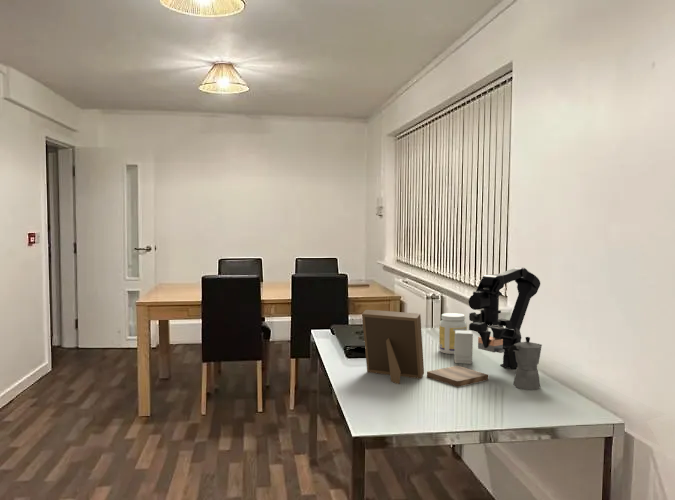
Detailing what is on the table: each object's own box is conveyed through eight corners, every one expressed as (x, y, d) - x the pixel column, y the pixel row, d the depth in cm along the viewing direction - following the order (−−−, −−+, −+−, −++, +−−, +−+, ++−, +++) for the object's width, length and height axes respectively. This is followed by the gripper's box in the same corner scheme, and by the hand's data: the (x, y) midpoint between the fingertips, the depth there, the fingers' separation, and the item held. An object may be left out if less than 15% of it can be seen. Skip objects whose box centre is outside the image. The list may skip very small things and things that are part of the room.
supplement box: (472, 364, 241) (473, 333, 240) (454, 363, 242) (454, 333, 242) (472, 359, 248) (472, 330, 248) (454, 358, 250) (454, 329, 249)
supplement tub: (470, 350, 265) (471, 314, 264) (460, 356, 254) (461, 318, 253) (445, 347, 271) (445, 311, 270) (434, 352, 261) (435, 315, 260)
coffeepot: (530, 380, 216) (532, 333, 215) (550, 387, 208) (551, 337, 207) (498, 386, 210) (499, 336, 209) (517, 393, 201) (518, 341, 200)
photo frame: (371, 369, 232) (371, 307, 230) (424, 375, 223) (424, 311, 221) (356, 379, 219) (356, 313, 217) (412, 386, 210) (412, 317, 208)
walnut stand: (456, 370, 231) (456, 365, 231) (488, 379, 217) (488, 374, 217) (426, 376, 222) (427, 371, 222) (457, 386, 208) (457, 381, 208)
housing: (486, 347, 232) (486, 335, 232) (506, 351, 224) (507, 340, 224) (478, 348, 230) (478, 337, 229) (498, 353, 221) (498, 341, 221)
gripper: (491, 303, 239) (490, 340, 240) (458, 306, 228) (458, 346, 229) (513, 306, 229) (512, 345, 230) (480, 310, 219) (479, 351, 220)
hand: (490, 347), depth 228 cm, fingers closed on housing, 5 cm apart
